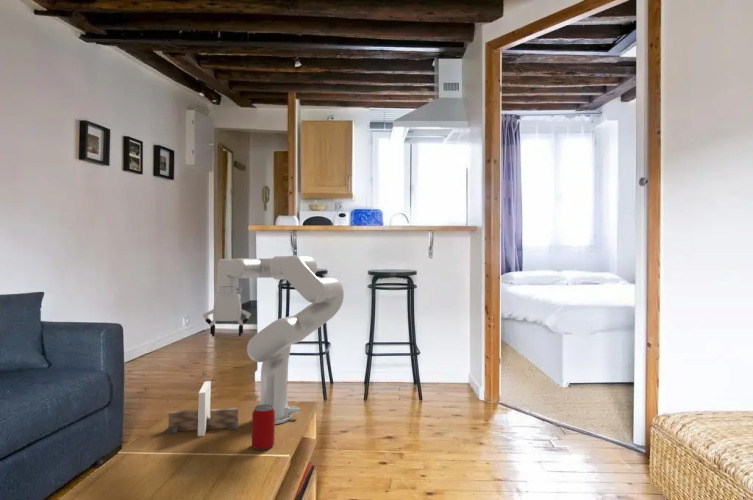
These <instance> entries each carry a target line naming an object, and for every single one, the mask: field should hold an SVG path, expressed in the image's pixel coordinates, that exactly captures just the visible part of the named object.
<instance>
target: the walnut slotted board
mask: <svg viewBox="0 0 753 500" xmlns="http://www.w3.org/2000/svg"><path fill="white" fill-rule="evenodd" d="M238 426H239V407H223V408H210V418H207V423H206V430H211V429H214V430H215V429H226V428H227V431H228V430H229V431H230V430H237V429H238ZM196 430H197V431H198V409H189V410H171V411H170V410H169V412H168V427H166V434H167V435H169V434H177V433H178V432H181V431H184V432H185V431H196Z"/></svg>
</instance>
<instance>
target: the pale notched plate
mask: <svg viewBox="0 0 753 500" xmlns="http://www.w3.org/2000/svg"><path fill="white" fill-rule="evenodd" d="M211 389H212V381H211V380H208V381H207V380H206V381H204V382H203V384H202V386H201V388H200V390H199V392H198V404H197V405H198V406H197V407H198V408H197V410H198V430H197V437H204V436H205V434H206V432H207V429H206V423H207V418H211V393H212V392H211V391H212V390H211Z"/></svg>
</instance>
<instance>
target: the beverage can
mask: <svg viewBox="0 0 753 500" xmlns="http://www.w3.org/2000/svg"><path fill="white" fill-rule="evenodd" d="M251 416H252V418H251V446H252V447H253V448H254V449H255V450H258V451H259V450H260V451H262V450H268V449H270V448H271V447H273V445H274V444H275V431H276V430H275V429H276V428H275V426H276V424H275V411H274V409H273V406H272V405H267V404H264V405H260V404H258V405H256V406H255V407H254V408H253V411H252V415H251Z"/></svg>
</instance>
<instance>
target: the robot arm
mask: <svg viewBox="0 0 753 500" xmlns="http://www.w3.org/2000/svg"><path fill="white" fill-rule="evenodd" d="M217 263H218V264H217V288H216V289H217V293H216V294H215V295H214V301H213V309H211V310H209V311H207V312H206V313H203V314H202V316H203V318H204V320H205V322H206V324H208V325H209V326H210V329H209V331H210V332H209V333H210V335H211V337H212V338H214V337H215V336H216V325H215V324H216V322H235V321H236V322H237V323H238V336H239V337H241V336H242V334H243V333H244V325H245V324H246V323H247V322H248V321H249V319H250V317H251V315H252V313H251V312H248V311H247V310H244V309H242V297H241V294H239V293H240V292H243V287H239V279H258V278H259V279H260V278H263V279H264V278H268V279H269V278H270V279H271V278H272V279H274V280H279V281H280V280H286V281H288V283H289V284H290V285H291V286H292V288H294V289H295V290H296V292H298V293H299V294H300V295H301V297H302V298H304V300H305V301H306V302H308V303H310V304H309V305H307V306H306V307H304V308H303V309H302V310H300V311H299V312H297V313H296V314H294V315H290V316H286V317H281V318H278V319H276V320H274V321H273V322H271V323H269V324H268V325H267V326H265V327H264V328H263V329H261V330H260V331H259V332H257V333H256V334H254V336H252V337H251V338H250V339H249V341H248V344H247V347H246V351H247V355H248V357H249V358H250V359H251V360H252V361H254V362H256V363H262V364H261V369H260V397H259V398H260V400H259V401H260V403H259V405H264V404H267V405H272V406H273V409H274V411H275V425H278V424H283V423H286V422H288V421H289V420H291V419H292V414H300V413H301V409H300V407H297V406H293V405H292V406H290V405H289V403H288V382H289V378H288V377H289V361H290V353H291V349H292V347H291V346H292V345H293V344H297V343H299V342H301V341H303V340H304V339H306V337H308V336H309V335H311V334H312V333H313V332H315V331H316V330H318V329H319V328H320V327H321V326H324V325H325V324H326V323H327V322H329V321H330V320H331V319H333V317H334V316H335V315H336V314H337V313H338V312H339V310H340V309H341V307H342V305H343V302H344V296H345V295H344V293H345V292H344V287H343V284H342V283H341V282H340V281H339V280H338V279H336V278H334V277H330V276H329V277H326V276H325V277H318V276H316V273H317V271H318V263H317V261H316V260H315V259H314V258H313V257H311V256H308V255H298V254H297V255H293V254H292V255H279V256H278V255H276V256H273V257H272V258H271V257H270V258H249V257H247V258H242V257H241V258H221V259H219V260H218V262H217ZM242 314H243V315H245V318H244V319H242ZM210 315H212V320H211V319H210V317H209V316H210Z"/></svg>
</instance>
